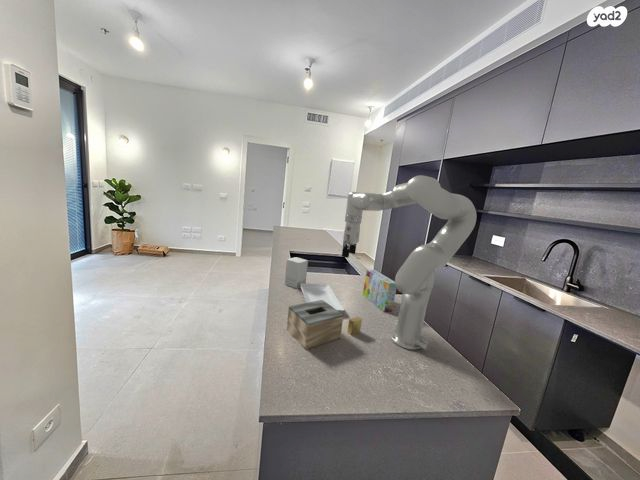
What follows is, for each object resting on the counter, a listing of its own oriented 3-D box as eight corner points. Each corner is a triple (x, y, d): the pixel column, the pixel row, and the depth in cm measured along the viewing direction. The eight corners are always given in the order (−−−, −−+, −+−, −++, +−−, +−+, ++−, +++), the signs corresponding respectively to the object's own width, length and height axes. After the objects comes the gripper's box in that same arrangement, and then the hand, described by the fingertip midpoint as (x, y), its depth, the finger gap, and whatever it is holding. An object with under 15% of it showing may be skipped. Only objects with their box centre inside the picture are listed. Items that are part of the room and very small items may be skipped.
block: (359, 332, 109) (362, 319, 108) (350, 335, 106) (353, 321, 105) (356, 329, 111) (358, 316, 110) (347, 332, 108) (349, 319, 107)
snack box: (393, 311, 132) (398, 283, 129) (383, 312, 130) (388, 283, 127) (370, 294, 151) (374, 268, 148) (361, 294, 149) (365, 269, 146)
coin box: (340, 338, 103) (343, 314, 101) (305, 349, 94) (308, 323, 92) (319, 321, 114) (322, 299, 112) (286, 329, 105) (288, 306, 103)
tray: (328, 289, 151) (328, 283, 151) (344, 316, 122) (345, 309, 121) (298, 288, 148) (299, 282, 147) (308, 316, 118) (309, 309, 117)
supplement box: (306, 285, 153) (308, 260, 150) (296, 289, 146) (299, 263, 143) (293, 280, 158) (296, 256, 155) (283, 284, 150) (286, 259, 148)
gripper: (355, 221, 113) (350, 260, 116) (366, 219, 129) (361, 253, 132) (338, 219, 116) (334, 257, 119) (351, 217, 132) (347, 250, 135)
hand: (348, 255), depth 126 cm, fingers open, 9 cm apart
